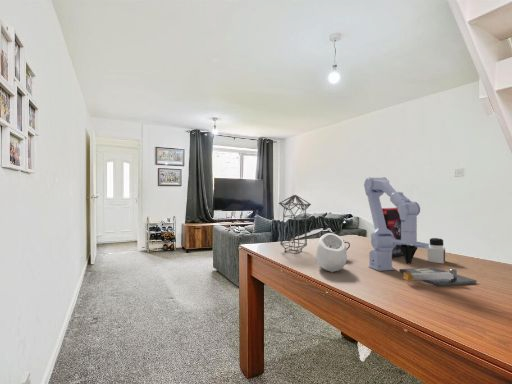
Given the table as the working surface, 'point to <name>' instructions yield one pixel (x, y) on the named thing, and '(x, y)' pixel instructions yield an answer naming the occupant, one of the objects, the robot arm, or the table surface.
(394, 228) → the graphics card box
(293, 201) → the geometric lantern
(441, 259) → the medicine bottle
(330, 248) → the skull planter
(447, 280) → the panel
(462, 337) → the table surface
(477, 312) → the table surface
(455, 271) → the cable arm
